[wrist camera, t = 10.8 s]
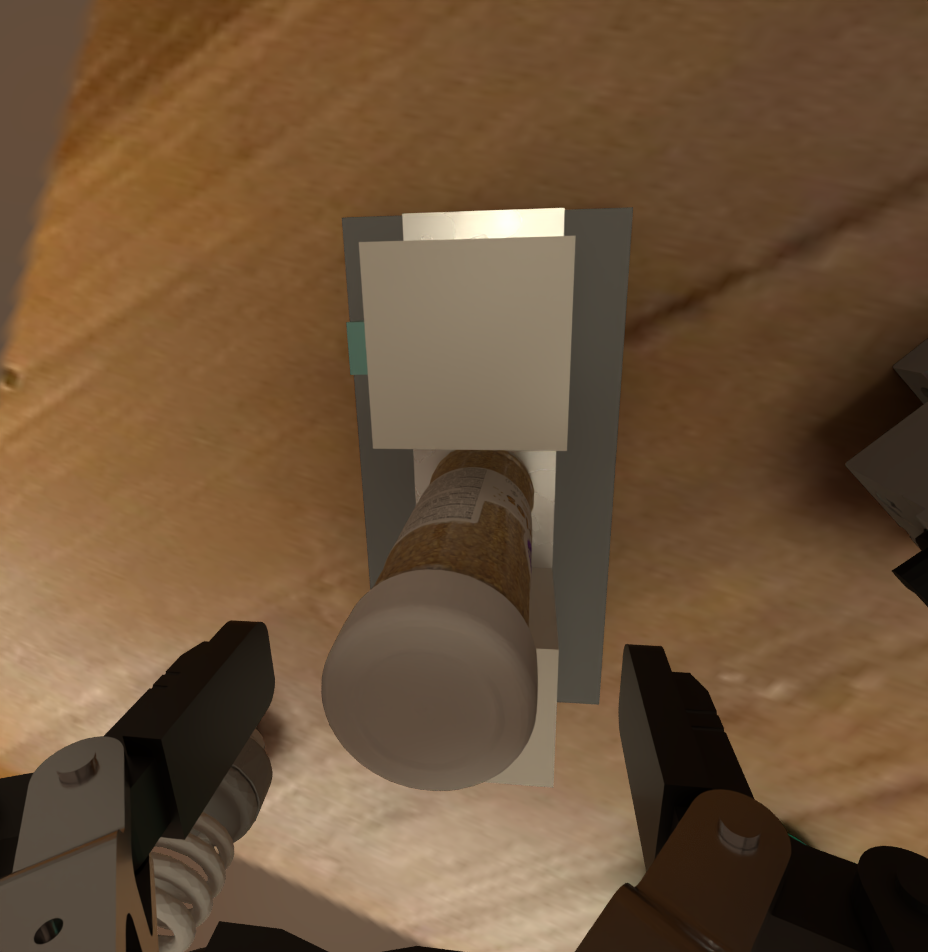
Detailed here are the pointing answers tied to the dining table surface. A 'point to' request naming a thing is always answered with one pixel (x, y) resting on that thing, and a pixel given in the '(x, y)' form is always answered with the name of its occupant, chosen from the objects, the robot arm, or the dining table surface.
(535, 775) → the mounted modules
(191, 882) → the light bulb
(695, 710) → the robot arm
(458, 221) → the din rail
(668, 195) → the dining table surface
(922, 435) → the circuit breaker
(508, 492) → the sprinkles bottle
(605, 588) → the mounting board
